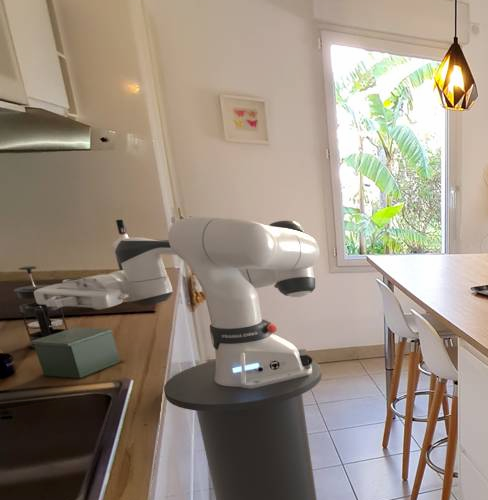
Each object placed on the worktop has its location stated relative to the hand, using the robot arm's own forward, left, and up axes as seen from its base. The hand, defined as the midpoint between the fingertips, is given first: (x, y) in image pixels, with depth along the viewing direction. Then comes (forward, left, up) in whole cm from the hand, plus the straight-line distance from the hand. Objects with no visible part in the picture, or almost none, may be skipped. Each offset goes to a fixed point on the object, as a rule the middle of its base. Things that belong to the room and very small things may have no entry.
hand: (50, 304), depth 136 cm
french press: (+7, -31, -19) cm, 37 cm away
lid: (-2, -2, -10) cm, 10 cm away
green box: (-2, -2, -18) cm, 19 cm away
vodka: (-15, -90, -19) cm, 93 cm away
